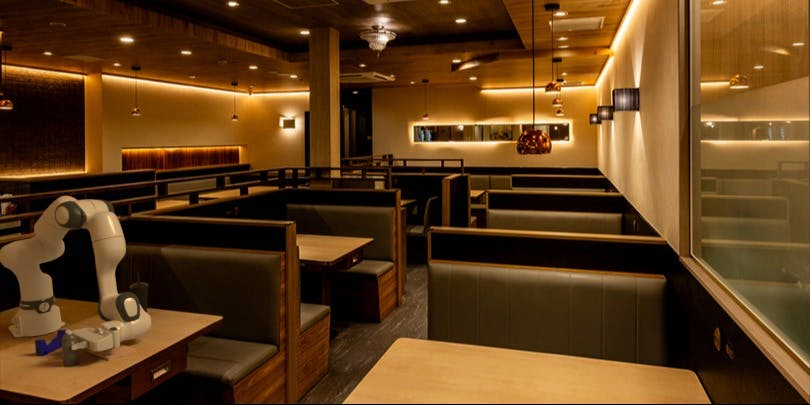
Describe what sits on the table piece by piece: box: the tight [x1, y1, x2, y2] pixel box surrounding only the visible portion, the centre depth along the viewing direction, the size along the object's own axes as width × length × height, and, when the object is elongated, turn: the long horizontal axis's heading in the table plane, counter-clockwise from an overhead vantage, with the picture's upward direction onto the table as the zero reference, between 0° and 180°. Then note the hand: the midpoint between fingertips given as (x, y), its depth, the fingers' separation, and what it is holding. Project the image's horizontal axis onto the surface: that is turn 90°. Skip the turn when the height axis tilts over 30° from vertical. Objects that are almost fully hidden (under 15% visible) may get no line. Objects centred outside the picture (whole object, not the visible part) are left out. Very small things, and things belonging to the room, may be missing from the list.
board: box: [86, 342, 137, 362], centre depth 209 cm, size 16×10×1 cm, turn 54°
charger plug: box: [61, 329, 80, 368], centre depth 197 cm, size 5×5×12 cm
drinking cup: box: [129, 270, 149, 313], centre depth 252 cm, size 8×8×20 cm
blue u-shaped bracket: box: [34, 328, 67, 357], centre depth 212 cm, size 12×4×6 cm, turn 169°
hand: (67, 345), depth 197 cm, fingers closed on charger plug, 5 cm apart
